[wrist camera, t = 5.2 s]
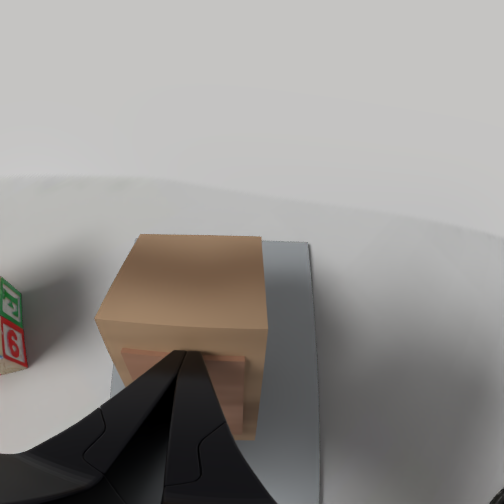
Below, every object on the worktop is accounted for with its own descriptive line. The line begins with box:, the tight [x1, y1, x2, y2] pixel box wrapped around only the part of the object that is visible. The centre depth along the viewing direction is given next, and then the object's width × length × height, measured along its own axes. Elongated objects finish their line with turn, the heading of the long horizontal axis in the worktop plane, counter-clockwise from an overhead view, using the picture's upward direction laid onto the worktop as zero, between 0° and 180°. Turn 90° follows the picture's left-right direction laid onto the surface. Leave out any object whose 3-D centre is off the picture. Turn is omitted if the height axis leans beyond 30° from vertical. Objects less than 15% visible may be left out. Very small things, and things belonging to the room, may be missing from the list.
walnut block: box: [94, 234, 268, 440], centre depth 12 cm, size 5×5×8 cm
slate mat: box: [110, 238, 320, 504], centre depth 16 cm, size 20×12×1 cm, turn 0°
